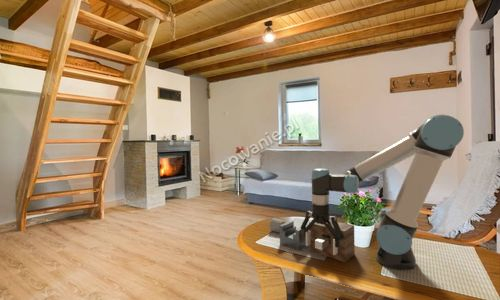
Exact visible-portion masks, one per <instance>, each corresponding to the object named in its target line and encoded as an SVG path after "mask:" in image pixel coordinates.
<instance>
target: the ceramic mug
mask: <svg viewBox="0 0 500 300" xmlns="http://www.w3.org/2000/svg"><path fill="white" fill-rule="evenodd" d="M286 222H287V221H285V220H282V219H279V218H276V217H274V218H273V217H272V218H271V220H270V222H269V230H270V231H271V232H275V233H279V234H280V227H279V225H282V224H284V223H286Z"/></svg>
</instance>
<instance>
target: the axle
mask: <svg viewBox="0 0 500 300" xmlns="http://www.w3.org/2000/svg"><path fill="white" fill-rule="evenodd" d="M329 245H331V236H328V235H323V236H322V237H320V238H318V239H317V240H315V248H317V249H320V250H323V249H325V248H326V247H328V246H329Z"/></svg>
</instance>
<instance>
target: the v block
mask: <svg viewBox="0 0 500 300" xmlns="http://www.w3.org/2000/svg"><path fill="white" fill-rule="evenodd" d="M285 222H286V223H284V224H282V225H279V227H280V233H279V244H280V245H281V246H285V247H286V248H287V247H288V248H290V249H293V250H297V251H301V250H303V249H305V248H306V247H307V246H306V238H305V237H304V230H302V229H301V228H300V227H298V228H297V225H295V223H294V222H295V221H293V220H289V221H285ZM307 226H308V224H307V225H306V227H307ZM308 231H309V230H308Z"/></svg>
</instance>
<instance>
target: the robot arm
mask: <svg viewBox="0 0 500 300" xmlns="http://www.w3.org/2000/svg"><path fill="white" fill-rule="evenodd" d="M464 134H465V131H464V126H463V124H462V123H461V121H460V120H458V119H457V118H455V117H453V116H451V115H449V114H448V115H446V114H437V115H433V116H431V117H428V118H427V120H425V121H424V122H423V123H422V124H421V125H419V127H417V128H416V129H414V130H412V131H410V132H409V133H408V136H406V137H405V138H403V139H401V140H400V141H397V142H396V143H394V144H392V145H391V146H389V147H387V148H385V149H383V150H382V151H379V152H377V153H376V154H374V155H373V156H371V157H369V158H367V159H366V160H363V161H362V162H360V163H358V164H356V165H355V166H353V167H351V168H349V169H346V170H345V171H343V172H342V173H341V174H339V173H330V170H329V169H328V168H314V169H313V170H312V171H311V210H312V211H311V210H307V211H306V212H305V217H304V219H303V221H302V223H301V226H300V227H299V228H301V229H302V230H304V237H305V238H306V247H310V231H308V230H309V229H310V228H311V227H312V226H313V225H314V223H315V222H316V223H318V224H322V225H323V224H324V225H325V226H326V227H327V228H328V230H329V231H330V233H331V234H332V236H333V237H334V240H333V255H336V254H337V253H338V247H339V240H341V239H343V238H344V236H343V234H342V232H341V229H340V227H339V225H338V223H337V222H338V219H337V216H336V215H330V192H335V193H336V192H337V193H348V194H356V193H357V192H359V189H360V188H359V187H360V183H362V182H364V181H366V180H367V179H370V178H371V177H373V176H375V175H377V174H379V173H382V172H383V171H385V170H387V169H389V168H390V167H393V166H395V165H398V164H400V163H401V162H403V161H405V160H406V159H409V158H411V157H413V156H414V157H413V159H412V161H411V163H410V166H409V167H408V171H407V172H406V175H405V176H404V177H405V178H404V180H403V182H402V184H401V187H400V189H399V191H398V193H397V196H396V199H394V202H393V205H392V207H391V208H389V207H388V208H387V207H385V208H381V209H380V212H379V215H380V220H379V221H380V222H379V224H378V225H379V226H378V228H377V231H376V233H375V234H376V235H375V236H376V242H377V243H378V248H377V250H376V254H375V255H376V260H377V262H378V263H379V264H381V265H382V266H385V267H387V266H388V268H390V267H392V268H391V269H394V268H396V270H401V269H408V270H413V269H414V268H416V265H417V261H416V257H415V254H414V250H413V248H412V247H413V246H412V245H413V239H414V236H415V234H416V232H417V230H418V228H419V224H418V222H417V218H418V216H419V214H420V211H421V209H422V208H423V205H424V203H425V201H426V199H427V197H428V194H429V192H430V190H431V188H432V186H433V184H434V181H435V179H436V177H437V175H438V174H439V171H440V169H441V167H442V164H443V162H444V161H447V160H448V159H451V157H452V155H453V153H454V151H455V149H456V147H457V146H458V145H459V144H460V143H461V141H462V140H463V138H464ZM311 217H312V220H311V221H310V218H311ZM329 220H330V221H332V224H333V226H332V225H331V222H330V221H329ZM327 223H328V224H327ZM306 225H308V226H307V227H306ZM333 227H334V228H333Z"/></svg>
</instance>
